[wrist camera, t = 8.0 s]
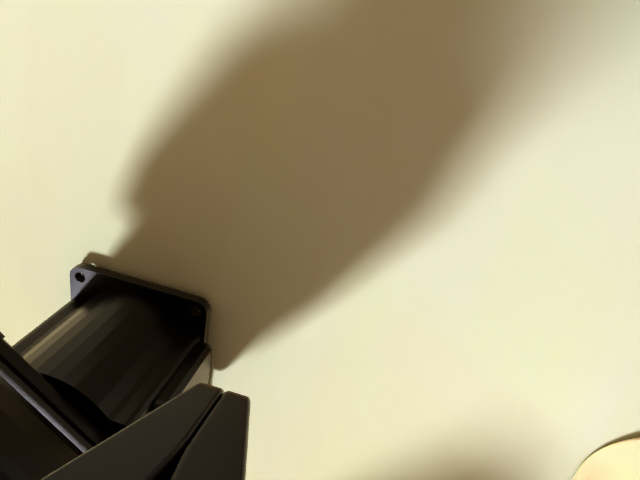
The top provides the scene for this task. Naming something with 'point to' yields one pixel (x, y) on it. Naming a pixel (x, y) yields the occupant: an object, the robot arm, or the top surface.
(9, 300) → the top surface
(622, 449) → the beer glass
